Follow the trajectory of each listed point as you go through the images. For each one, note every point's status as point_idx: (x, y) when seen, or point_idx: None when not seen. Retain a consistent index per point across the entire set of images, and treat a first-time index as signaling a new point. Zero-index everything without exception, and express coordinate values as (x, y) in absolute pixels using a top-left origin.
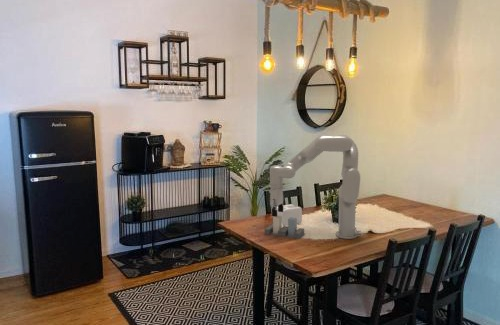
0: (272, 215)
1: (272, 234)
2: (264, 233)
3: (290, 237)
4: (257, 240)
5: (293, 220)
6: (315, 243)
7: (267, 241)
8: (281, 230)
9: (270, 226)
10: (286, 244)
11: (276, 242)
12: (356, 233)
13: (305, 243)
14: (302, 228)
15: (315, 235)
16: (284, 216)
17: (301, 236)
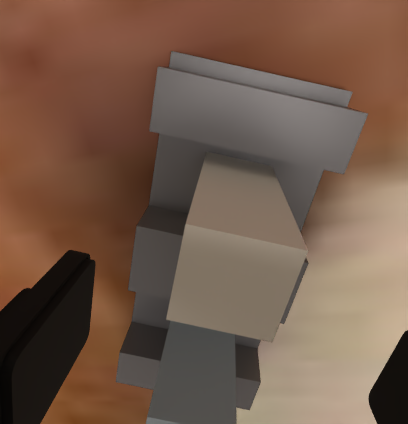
0: (64, 263)
1: (169, 152)
2: (181, 59)
3: (137, 300)
4: (10, 20)
5: None
6: (111, 415)
7: (26, 128)
8: (158, 256)
9: (275, 119)
10: (28, 276)
11: (36, 206)
12: None
13: (92, 373)
14: (252, 400)
15: (251, 417)
16: None
17: None
